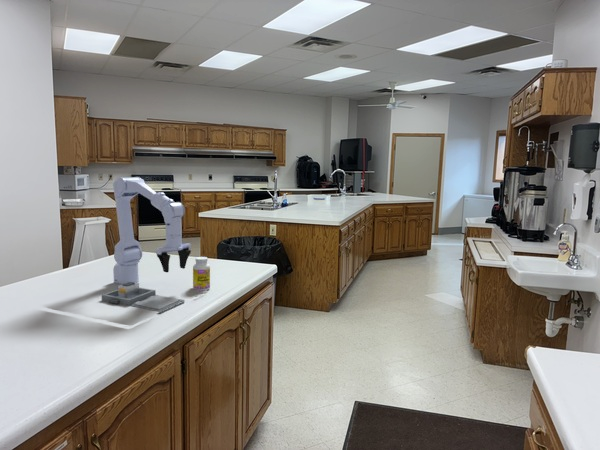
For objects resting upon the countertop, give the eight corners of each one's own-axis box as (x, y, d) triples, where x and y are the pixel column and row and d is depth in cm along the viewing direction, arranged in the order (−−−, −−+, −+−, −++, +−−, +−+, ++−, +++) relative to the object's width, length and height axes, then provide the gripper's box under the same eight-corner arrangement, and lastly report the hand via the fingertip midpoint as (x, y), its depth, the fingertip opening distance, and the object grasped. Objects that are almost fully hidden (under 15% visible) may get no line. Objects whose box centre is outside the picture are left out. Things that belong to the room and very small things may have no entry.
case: (99, 303, 156) (98, 295, 156) (128, 293, 169) (128, 285, 169) (157, 315, 146) (157, 306, 146) (184, 303, 159) (184, 295, 158)
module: (118, 299, 158) (118, 284, 158) (131, 294, 164) (130, 280, 163) (127, 301, 157) (126, 286, 156) (139, 296, 162) (138, 282, 162)
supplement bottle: (195, 292, 172) (195, 260, 170) (191, 288, 178) (190, 257, 176) (212, 290, 175) (211, 259, 173) (207, 286, 181) (207, 255, 179)
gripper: (164, 238, 156) (164, 275, 158) (196, 233, 168) (196, 268, 170) (152, 236, 161) (153, 272, 163) (184, 231, 172) (184, 265, 174)
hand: (174, 270), depth 167 cm, fingers open, 7 cm apart
